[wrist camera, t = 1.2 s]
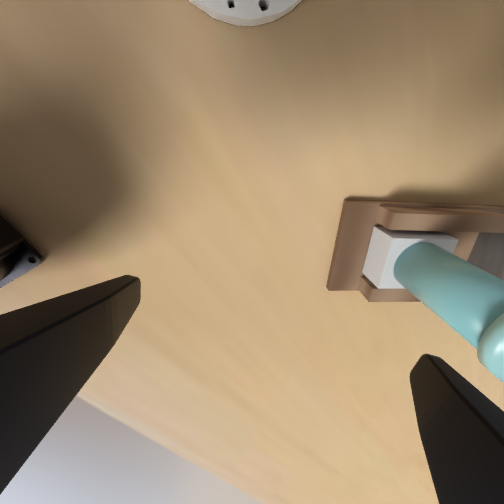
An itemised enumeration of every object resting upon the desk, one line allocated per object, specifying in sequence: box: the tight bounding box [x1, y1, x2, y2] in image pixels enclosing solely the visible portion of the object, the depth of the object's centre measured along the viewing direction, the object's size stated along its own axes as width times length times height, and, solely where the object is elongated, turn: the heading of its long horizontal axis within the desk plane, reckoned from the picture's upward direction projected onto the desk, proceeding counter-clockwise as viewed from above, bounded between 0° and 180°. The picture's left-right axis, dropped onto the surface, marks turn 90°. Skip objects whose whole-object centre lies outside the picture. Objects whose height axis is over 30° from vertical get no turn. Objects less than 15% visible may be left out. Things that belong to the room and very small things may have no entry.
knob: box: [362, 226, 504, 382], centre depth 17 cm, size 5×4×11 cm
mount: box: [326, 200, 504, 302], centre depth 20 cm, size 14×8×7 cm, turn 86°
